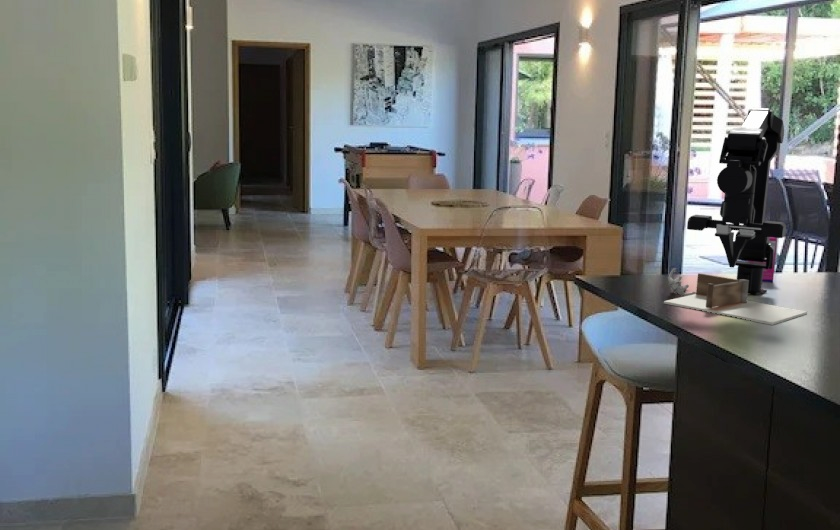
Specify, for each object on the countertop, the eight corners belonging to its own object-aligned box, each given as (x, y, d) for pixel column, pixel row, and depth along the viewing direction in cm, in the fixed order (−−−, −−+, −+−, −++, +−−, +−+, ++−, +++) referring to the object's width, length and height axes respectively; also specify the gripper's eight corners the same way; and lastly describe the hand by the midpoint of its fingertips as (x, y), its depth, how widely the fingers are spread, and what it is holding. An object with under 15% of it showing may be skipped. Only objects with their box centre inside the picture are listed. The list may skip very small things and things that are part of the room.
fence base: (699, 293, 201) (701, 272, 200) (748, 302, 193) (750, 280, 192) (694, 294, 199) (696, 272, 199) (744, 303, 191) (746, 281, 190)
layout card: (701, 294, 202) (702, 292, 202) (806, 314, 186) (807, 311, 186) (663, 303, 191) (664, 300, 190) (772, 325, 174) (772, 322, 174)
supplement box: (744, 277, 229) (748, 233, 227) (767, 278, 228) (772, 235, 226) (749, 281, 223) (754, 236, 221) (773, 282, 222) (778, 238, 220)
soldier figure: (697, 295, 207) (700, 288, 195) (680, 308, 207) (682, 302, 196) (675, 270, 209) (677, 261, 197) (659, 283, 209) (660, 275, 198)
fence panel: (736, 301, 192) (738, 278, 191) (741, 302, 191) (743, 279, 190) (704, 307, 185) (706, 283, 184) (709, 308, 184) (711, 284, 183)
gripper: (792, 193, 183) (784, 267, 186) (701, 187, 192) (694, 257, 194) (786, 196, 173) (777, 274, 176) (690, 189, 182) (683, 263, 185)
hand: (731, 267), depth 183 cm, fingers closed
